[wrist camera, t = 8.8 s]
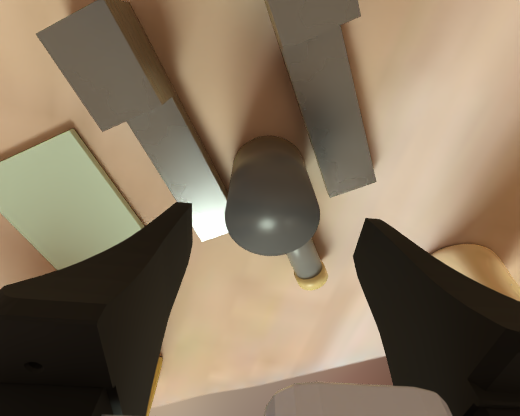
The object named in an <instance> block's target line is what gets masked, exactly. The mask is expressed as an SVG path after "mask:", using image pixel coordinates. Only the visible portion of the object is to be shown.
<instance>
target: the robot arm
mask: <svg viewBox="0 0 520 416" xmlns="http://www.w3.org/2000/svg"><path fill="white" fill-rule="evenodd" d="M191 248H192V203H184V202H176V203H175V204H173V205H172V206H171V207H170V208H168V209H167V210H166V211H165V212H163V213H162V214H161V215H160V216H158V217H157V218H156V219H155V220H153V221H152V222H151V223H149V224H148V225H147V226H145V227H144V228H142V229H141V230H139V231H138V232H136V233H135V234H133V235H132V236H130V237H129V238H127V239H125V240H124V241H122V242H120V243H118V244H117V245H115V246H113V247H111V248H109V249H107V250H105V251H103V252H101V253H99V254H97V255H94V256H92V257H90V258H88V259H85V260H83V261H81V262H78V263H76V264H73V265H71V266H68V267H65V268H63V269H60V270H57V271H54V272H51V273H48V274H45V275H42V276H38V277H35V278H31V279H28V280H24V281H21V282H17V283H14V284H10V285H6V286H4V287H3V288H2V289H1V290H0V416H146V413H147V408H148V403H149V398H150V394H151V389H152V385H153V380H154V376H155V371H156V367H157V363H158V359H159V354H160V350H161V346H162V342H163V338H164V334H165V330H166V326H167V322H168V318H169V315H170V312H171V309H172V306H173V304H174V301H175V298H176V296H177V293H178V290H179V287H180V285H181V282H182V279H183V277H184V274H185V271H186V268H187V265H188V262H189V257H190V253H191ZM353 259H354V263H355V268H356V272H357V276H358V279H359V282H360V284H361V287H362V289H363V292H364V294H365V297H366V299H367V302H368V304H369V307H370V309H371V312H372V314H373V317H374V319H375V322H376V324H377V327H378V330H379V333H380V336H381V340H382V343H383V347H384V350H385V354H386V358H387V361H388V365H389V369H390V373H391V378H392V382H393V386H389V385H370V384H351V383H334V382H307V383H296V384H293V385H291V386H288V387H286V388H284V389H282V390H279V391H277V392H276V393H275V395H274V396H273V397H272V398H271V400H270V401H269V403H268V404H267V405H266V408H265V413H264V416H520V301H517V300H515V299H513V298H510V297H508V296H506V295H503V294H501V293H499V292H497V291H495V290H493V289H491V288H489V287H487V286H484V285H482V284H480V283H478V282H476V281H474V280H473V279H471V278H469V277H467V276H465V275H463V274H462V273H460V272H458V271H456V270H455V269H453V268H451V267H449V266H448V265H446V264H445V263H443V262H441V261H440V260H438V259H437V258H435V257H434V256H432V255H431V254H429V253H428V252H426V251H425V250H423V249H422V248H420V247H419V246H418V245H416V244H415V243H413V242H412V241H411V240H409V239H408V238H407V237H405V236H404V235H402V234H401V233H400V232H398V231H397V230H396V229H394V228H393V227H391V226H390V225H388V224H387V223H385V222H384V221H382V220H380V219H371V218H366V219H365V222H364V225H363V228H362V231H361V234H360V237H359V240H358V243H357V246H356V249H355V252H354V255H353Z"/></svg>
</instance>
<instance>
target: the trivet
mask: <svg viewBox="0 0 520 416" xmlns="http://www.w3.org/2000/svg"><path fill="white" fill-rule="evenodd" d="M0 213H1V214H2V215H3V216H4V217H5V218H6V219H7V220H8V221H9V222H10V223H11V224H12V225H13V226H14V227H15V228H16V229H17V230H18V231H19V232H20V233H21V234H22V235H23V236H24V237H25V238H26V239H27V240H28V241H29V242H30V243H31V244H32V245H33V246H34V247H35V248H36V249H37V250H38V251H39V252H40V253H41V254H42V255H43V256H44V257H45V258H46V259H47V260H48V261H49V262H50V263H51V264H52V265H53V266H54V267H55V268H56V269H57V270H60V269H63V268H65V267H68V266H71V265H73V264H76V263H78V262H81V261H83V260H85V259H88V258H90V257H92V256H94V255H97V254H99V253H101V252H103V251H105V250H107V249H109V248H111V247H113V246H115V245H117V244H118V243H120V242H122V241H124V240H125V239H127V238H129V237H130V236H132V235H133V234H135V233H136V232H138V231H139V230H141V229H142V228H144V227H145V226H144V225H143V224H142V222H141V221H140V220H139V218H138V217H137V215H136V214H135V213H134V211H133V210H132V209H131V207H130V206H129V204H128V203H127V202H126V200H125V199H124V198H123V196H122V195H121V193H120V192H119V191H118V189H117V188H116V187H115V185H114V184H113V182H112V181H111V180H110V178H109V177H108V175H107V174H106V173H105V171H104V170H103V169H102V167H101V166H100V164H99V163H98V162H97V160H96V159H95V158H94V156H93V155H92V153H91V152H90V151H89V149H88V148H87V147H86V145H85V144H84V142H83V141H82V140H81V138H80V137H79V136H78V134H77V133H76V131H75V130H74V129H71V130H68V131H66V132H64V133H62V134H60V135H58V136H55V137H53V138H51V139H49V140H47V141H45V142H42V143H40V144H38V145H36V146H34V147H32V148H29V149H27V150H25V151H23V152H21V153H19V154H16V155H14V156H12V157H10V158H8V159H5V160H3V161H1V162H0Z"/></svg>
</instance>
